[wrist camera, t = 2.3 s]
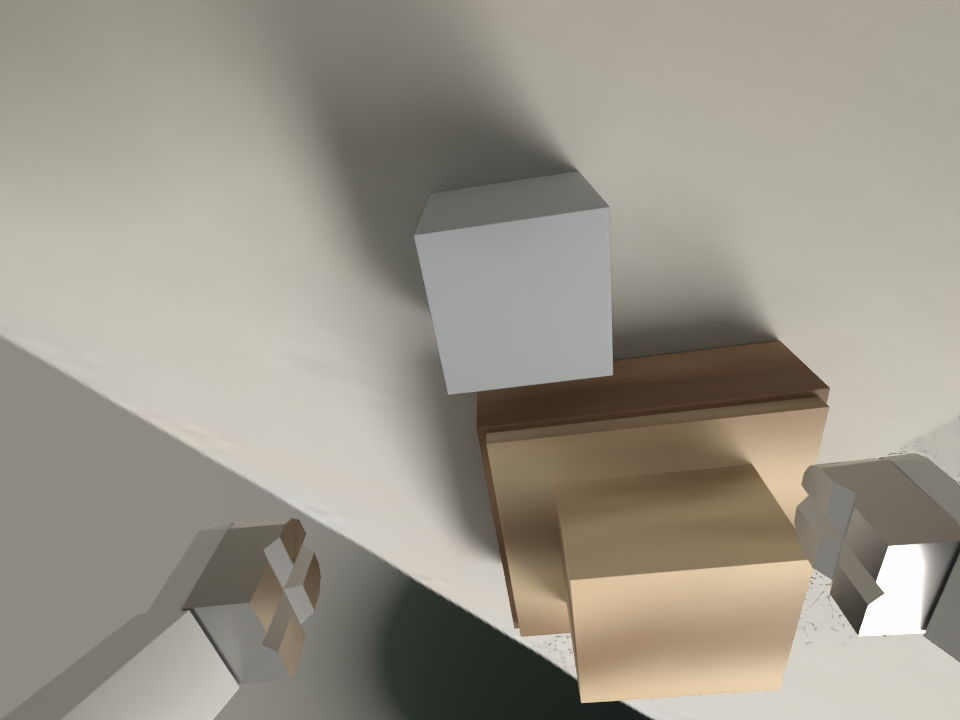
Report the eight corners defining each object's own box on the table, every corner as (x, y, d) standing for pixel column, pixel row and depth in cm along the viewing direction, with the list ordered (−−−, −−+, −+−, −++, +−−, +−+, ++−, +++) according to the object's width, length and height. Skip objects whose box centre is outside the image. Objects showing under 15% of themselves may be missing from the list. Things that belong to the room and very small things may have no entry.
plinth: (478, 376, 21) (476, 438, 18) (779, 340, 20) (841, 398, 17) (511, 566, 27) (515, 641, 24) (745, 545, 26) (784, 619, 23)
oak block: (554, 484, 19) (570, 580, 15) (752, 464, 18) (815, 559, 15) (566, 602, 22) (581, 702, 19) (732, 589, 22) (779, 689, 18)
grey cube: (431, 192, 17) (414, 235, 13) (578, 170, 17) (609, 207, 13) (455, 323, 20) (448, 394, 16) (584, 306, 20) (612, 375, 15)
